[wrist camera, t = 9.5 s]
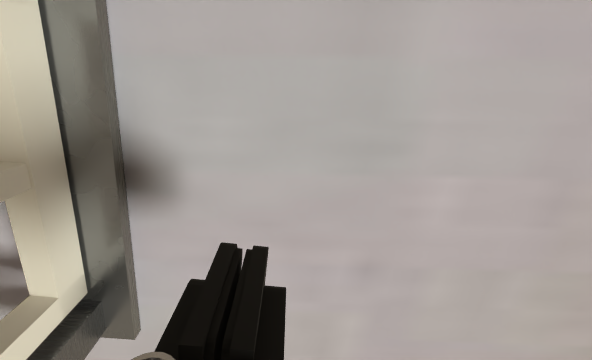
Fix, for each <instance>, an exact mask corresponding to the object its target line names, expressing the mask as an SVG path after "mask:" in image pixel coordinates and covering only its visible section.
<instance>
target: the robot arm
mask: <svg viewBox="0 0 592 360" xmlns="http://www.w3.org/2000/svg"><path fill="white" fill-rule="evenodd" d="M267 258H268V247H262V246H253V249H252V250H250V249H247V250H246V254H245V258H244V262H243V266H242V249H240V248H237V244H232V243H221V244H220V246H219V248H218V251H217V253H216V255H215V258H214V260H213V263H212V265H211V267H210V270H209V272H208V275H207V277H206V279H205V280H199V279H191V280H190V281H189V283H188V285H187V287H186V289H185V291H184V293H183V295H182V297H181V299H180V301H179V303H178V305H177V307H176V309H175V311H174V313H173V315H172V317H171V319H170V321H169V323H168V325H167V327H166V329H165V331H164V333H163V335H162V337H161V339H160V342H159V344H158V346H157V348H156V350H155V352H150V353H144V354H142V355H140V356H137V357H135V358H133V359H132V360H284V337H285V307H286V287H275V286H265V277H266V267H267ZM241 266H242V270H241Z"/></svg>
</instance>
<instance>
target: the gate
mask: <svg viewBox="0 0 592 360" xmlns="http://www.w3.org/2000/svg"><path fill="white" fill-rule="evenodd" d="M3 201H5V203H6V207H7V211H8V215H9V219H10V222H11V226H12V230H13V234H14V238H15V241H16V245H17V249H18V253H19V257H20V260H21V264H22V268H23V272H24V276H25V279H26V283H27V287H28V291H29V295H30V296H29V297H27V298H26V299H25V300H24V301H23V302H22V303H20V304H19V305H18V306H17V307H16V308H15V309H13V310H12V311H11V312H10V313H9V314H8V315H6V316H5V317H4V318H3V319H2V320H1V321H0V360H26V359H27V358H28V357H29V356H30V355H31V354H32V353H33V352H34V351H35V349H36V348H37V347H38V346H39V345H40V344H41V343H42V342H43V341H44V340H45V339H46V337H47V336H48V335H49V334H50V333H51V332H52V331H53V330H54V329H55V328H56V327H57V326H58V324H59V323H60V322H61V321H62V320H63V319H64V318H65V317H66V316H67V315H68V314H69V313H70V311H71V310H72V309H73V308H74V307H75V306H76V305H77V304H78V303H79V302H80V301H81V299H82V298H83V297H84V296H85V295H86V294H87V293H88V292H87V286H86V280H85V275H84V269H83V263H82V257H81V251H80V245H79V240H78V234H77V228H76V222H75V216H74V210H73V204H72V199H71V193H70V187H69V181H68V175H67V169H66V163H65V158H64V152H63V146H62V140H61V134H60V128H59V122H58V117H57V111H56V105H55V99H54V93H53V87H52V81H51V76H50V70H49V64H48V58H47V52H46V46H45V41H44V35H43V29H42V23H41V17H40V11H39V5H38V0H0V203H1V202H3Z"/></svg>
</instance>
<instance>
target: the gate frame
mask: <svg viewBox="0 0 592 360" xmlns="http://www.w3.org/2000/svg"><path fill="white" fill-rule="evenodd" d="M38 5H39V11H40V17H41V23H42V29H43V35H44V41H45V46H46V52H47V58H48V64H49V70H50V76H51V81H52V87H53V93H54V99H55V105H56V111H57V117H58V122H59V128H60V134H61V140H62V146H63V152H64V158H65V163H66V169H67V175H68V181H69V187H70V193H71V199H72V204H73V210H74V216H75V222H76V228H77V234H78V240H79V245H80V251H81V257H82V263H83V269H84V275H85V280H86V286H87V292H88V293H87V294H86V295H85V296H84V297H83V298H82V299H81V301H80V302H79V303H78V304H77V305H76V306H75V307H74V308H73V309H72V310H71V311H70V313H69V314H68V315H67V316H66V317H65V318H64V319H63V320H62V321H61V322H60V323H59V324H58V326H57V327H56V328H55V329H54V330H53V331H52V332H51V333H50V334H49V335H48V336H47V337H46V339H45V340H44V341H43V342H42V343H41V344H40V345H39V346H38V347H37V348H36V349H35V351H34V352H33V353H32V354H31V355H30V356H29V357H28V358H27V359H26V360H84V359H85V358H86V356H87V355H88V354H89V352H90V351H91V349H92V348H93V347H94V345H95V344H96V343H97V341H98V340H99V338H100V337H104V338H118V339H132V340H135V338H136V337H137V335H138V333H139V332H140V330H141V329H140V319H139V310H138V300H137V291H136V281H135V272H134V262H133V253H132V244H131V234H130V225H129V215H128V206H127V196H126V187H125V177H124V168H123V158H122V149H121V139H120V130H119V120H118V111H117V101H116V92H115V83H114V73H113V64H112V54H111V45H110V35H109V26H108V16H107V7H106V0H38Z"/></svg>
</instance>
